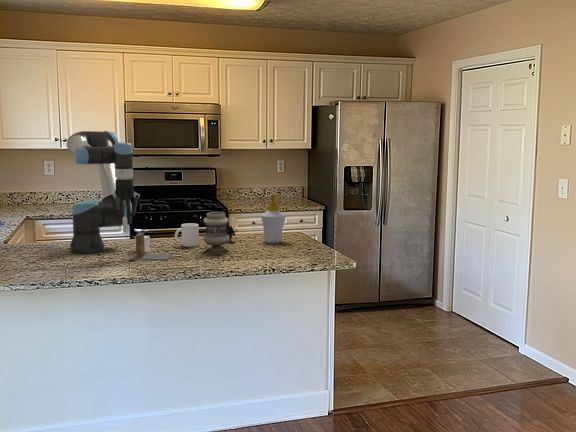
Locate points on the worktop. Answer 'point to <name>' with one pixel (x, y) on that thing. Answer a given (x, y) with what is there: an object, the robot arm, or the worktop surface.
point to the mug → (188, 235)
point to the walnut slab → (140, 245)
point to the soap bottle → (273, 222)
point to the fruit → (230, 231)
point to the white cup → (146, 242)
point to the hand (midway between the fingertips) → (126, 231)
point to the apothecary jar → (216, 231)
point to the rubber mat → (153, 257)
